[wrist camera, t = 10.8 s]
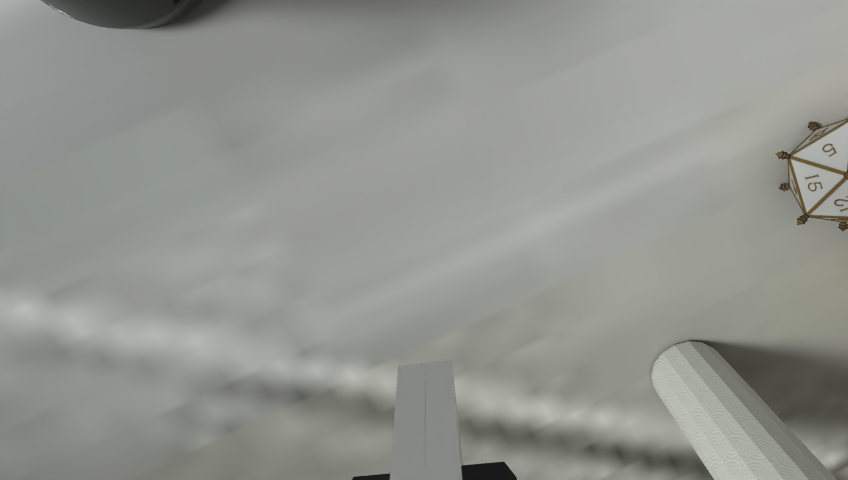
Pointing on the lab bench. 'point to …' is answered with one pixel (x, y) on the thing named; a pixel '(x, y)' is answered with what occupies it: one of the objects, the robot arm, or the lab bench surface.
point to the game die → (821, 173)
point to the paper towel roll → (729, 419)
